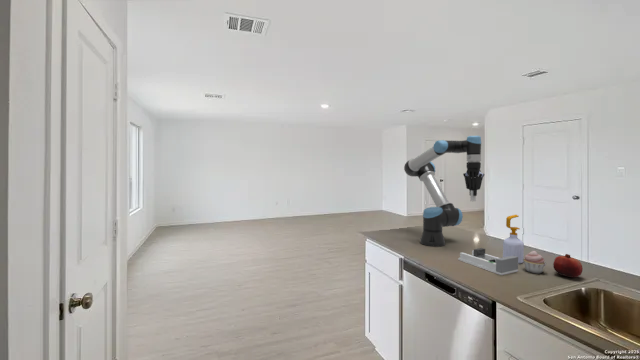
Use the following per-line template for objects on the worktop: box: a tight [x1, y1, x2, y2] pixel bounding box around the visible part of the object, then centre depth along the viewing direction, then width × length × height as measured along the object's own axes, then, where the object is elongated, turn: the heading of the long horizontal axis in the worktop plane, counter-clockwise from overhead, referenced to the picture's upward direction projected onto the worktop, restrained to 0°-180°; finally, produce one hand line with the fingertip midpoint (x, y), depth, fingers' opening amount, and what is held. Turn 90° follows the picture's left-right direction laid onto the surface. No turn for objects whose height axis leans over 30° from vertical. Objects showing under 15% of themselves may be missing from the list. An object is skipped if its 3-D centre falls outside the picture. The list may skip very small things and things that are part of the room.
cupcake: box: [523, 250, 547, 274], centre depth 138 cm, size 9×9×10 cm
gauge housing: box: [457, 249, 519, 276], centre depth 147 cm, size 24×12×7 cm, turn 23°
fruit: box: [552, 253, 584, 278], centre depth 132 cm, size 11×10×10 cm
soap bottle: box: [502, 214, 525, 264], centre depth 153 cm, size 9×9×25 cm
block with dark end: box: [473, 247, 499, 263], centre depth 145 cm, size 13×9×6 cm
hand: (473, 201), depth 174 cm, fingers closed
